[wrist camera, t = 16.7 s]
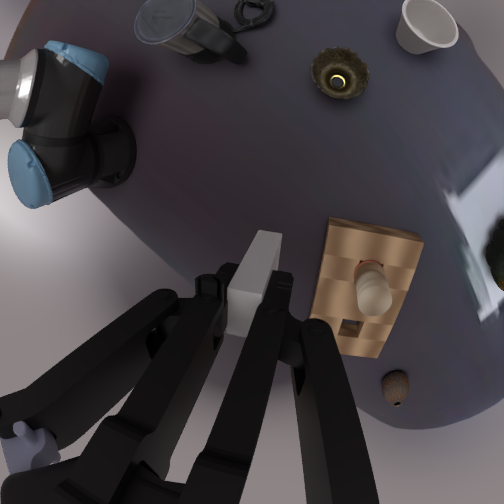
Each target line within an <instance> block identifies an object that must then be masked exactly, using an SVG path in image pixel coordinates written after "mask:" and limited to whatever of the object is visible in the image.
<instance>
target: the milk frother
mask: <svg viewBox="0 0 504 504" xmlns="http://www.w3.org/2000/svg"><path fill="white" fill-rule="evenodd" d="M244 3H246V4H248V5H249V6H251V7H254V6H256V7H264V10H263V12H262V14H260V15H259V16H258V17H256V18H253V19H245V18H244V17H243V16H242V12H241V10H242V6H243V4H244ZM273 9H274V5H273V1H272V0H239V2H237V4H236V6H235V8H234V16H235V18H236V20H237V21H238V22H239V23H241V24H243V25H245V26H241V27H237V28H234V29H233V28H232V26H231V25H230V24H229V23H228V22H226V21H224V20H222V19H220V18H219V17H218V16H216V15H215V14H214V13H213V12H212V11H211V10H209V9H208V8H207V7H206V6H205V5H204V4H202V3H201V2H200V1H199V0H148V1H147V2H146V3H145V4H144V5H143V6H142V7H141V8H140V10H139V12H138V14H137V17H136V19H135V23H134V31H135V34H136V36H137V38H138V39H139V40H140V41H142V42H143V43H146V44H156V45H159V46H161V47H164V48H167V49H169V50H172V51H174V52H177V53H179V54H182V55H184V56H186V57H188V58H190V59H191V60H192V61H194V62H197V63H200V64H209V63H213V62H216V61H218V60H220V59H222V58H223V57H224V58H226V59H227V60H229V61H231V62H232V63H235V64H240V63H241V62H242V61H243V59H244V58H245V57H246V55H247V51H246V50H245V49H244V48H243V47H242V46H241V45H240V44H239V43H238V42H237V41H236V40H235V32H237V31H241V30H244V29H248V28H251V27H254V26H257V25H259V24H261V23H263V22H264V21H266V20H267V19H268V18H269V17H270V16H271V14H272V12H273Z"/></svg>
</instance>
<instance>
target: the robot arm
mask: <svg viewBox="0 0 504 504" xmlns="http://www.w3.org/2000/svg"><path fill="white" fill-rule="evenodd" d="M44 48H45V49H33V50H32V51H30V52H29V53H28V54H27V55H25V56H24V57H23V58H21V59H9V60H0V120H1V119H8V120H10V121H11V123H12V124H13V125H14V126H15V127H16V128H22V127H24V130H23V136H22V140H20V139H19V140H17V141H16V142H14V143H13V144H12V146H11V148H10V150H9V153H8V171H9V177H10V181H11V184H12V187H13V189H14V192H15V194H16V195H17V197H18V199H19V200H20V201H21V203H23V204H24V205H25V206H26V207H28V208H31V209H36V208H39V207H41V206H44V205H49V204H51V203H52V202H55V201H57V200H59V199H61V198H63V197H66V196H68V195H70V194H72V193H75V192H77V191H79V190H82V189H84V188H87V187H94V188H111V187H114V186H116V185H119V184H121V183H122V182H124V181H125V180H126V179H127V178H128V177H129V175H130V174H131V172H132V170H133V167H134V164H135V159H136V143H135V138H134V135H133V133H132V130H131V129H130V127H129V126H128V124H127V123H126V122H125V121H124V120H122V119H121V118H118V117H115V116H107V117H101V118H98V119H96V120H94V121H92V122H91V119H92V116H93V112H94V109H95V106H96V103H97V100H98V97H99V94H100V91H101V89H102V86H104V80H105V77H106V74H107V71H108V68H109V59H108V58H107V57H106V56H105V55H103V54H100V53H97V52H95V51H92V50H88V49H85V48H82V47H78V46H74V45H69V44H66V43H62V42H58V41H53V40H50V41H48V43H47V44H46V45H45V47H44ZM281 240H282V234H281V233H275V232H268V231H262V230H259V231H258V232H257V234H256V236H255V238H254V240H253V242H252V243H251V245H250V247H249V249H248V251H247V253H246V254H245V256H244V258H243V260H242V262H241V264H240V265H239V264H234V263H228V262H227V263H225V264H224V265H222V266H221V267H220V268H219V270H218V272H217V273H216V274H203V275H200V276H198V277H197V278H196V279H195V289H196V295H195V296H194V297H193V298H178V295H177V293H176V292H175V291H173V290H171V289H158V290H156V291H154V292H152V293H151V294H150V295H148V296H147V297H146V298H144V299H143V300H141V301H140V302H139V303H137V304H136V305H135V306H133V307H132V308H130V309H129V310H128V311H126V312H125V313H124V314H122V315H121V316H119V317H118V318H117V319H116V320H114V321H113V322H111V323H110V324H109V325H107V326H106V327H105V328H103V329H102V330H101V331H99V332H98V333H97V334H95V335H94V336H93V337H91V338H90V339H89V340H87V341H86V342H85V343H83V344H82V345H81V346H79V347H78V348H77V349H75V350H74V351H73V352H72V353H70V354H69V355H68V356H66V357H65V358H64V359H62V360H61V361H60V362H59V363H58V364H56V365H55V366H53V367H52V368H51V369H50V370H48V371H47V372H46V373H44V374H43V375H42V376H41V377H39V378H38V379H37V380H36V381H34V382H33V383H32V384H31V385H30V386H28V387H27V388H25V389H22V390H20V391H17V392H14V393H11V394H8V395H6V396H3V397H0V440H1V444H2V448H3V452H4V455H5V459H6V463H7V466H8V469H9V472H10V475H9V476H8V477H7V478H6V479H5V480H4V482H3V484H2V487H1V492H0V494H1V504H239V502H240V499H241V495H242V493H243V489H244V486H245V483H246V479H247V476H248V473H249V469H250V466H251V462H252V459H253V455H254V452H255V448H256V445H257V441H258V437H259V434H260V430H261V426H262V422H263V418H264V414H265V410H266V406H267V402H268V399H269V394H270V390H271V386H272V382H273V377H274V373H275V368H276V365H277V360H280V361H282V362H284V363H286V364H289V365H290V366H291V367H290V368H291V376H292V384H293V391H294V398H295V406H296V414H297V422H298V430H299V438H300V447H301V455H302V464H303V473H304V482H305V490H306V501H307V504H379V499H378V494H377V489H376V485H375V480H374V475H373V471H372V467H371V463H370V459H369V454H368V450H367V446H366V442H365V438H364V435H363V431H362V427H361V423H360V420H359V416H358V412H357V409H356V405H355V402H354V398H353V395H352V391H351V388H350V385H349V381H348V378H347V375H346V371H345V368H344V365H343V362H342V358H341V355H340V352H339V349H338V346H337V343H336V340H335V337H334V334H333V331H332V328H331V326H330V325H329V324H328V323H327V322H326V321H324V320H321V319H318V318H310V319H307V320H305V321H303V322H302V321H299V320H297V319H296V318H294V317H293V316H292V315H291V314H290V312H289V302H290V297H291V291H292V286H293V280H294V278H293V276H292V274H291V273H288V272H283V271H277V270H278V263H279V256H280V248H281ZM226 326H227V329H226V333H228V334H232V335H236V336H241V337H245V338H246V340H245V343H244V346H243V348H242V351H241V354H240V357H239V359H238V362H237V365H236V368H235V370H234V373H233V375H232V378H231V381H230V384H229V386H228V389H227V391H226V394H225V397H224V399H223V402H222V405H221V407H220V410H219V412H218V415H217V418H216V420H215V423H214V425H213V428H212V430H211V433H210V435H209V438H208V440H207V443H206V445H205V448H204V449H203V451H202V452H201V453H199V455H198V457H197V458H196V460H195V462H194V465H193V467H192V470H191V472H190V474H189V477H188V479H187V481H186V484H184V483H176V482H169V481H165V478H166V476H167V473H168V471H169V467H170V459H171V456H172V453H173V451H174V449H175V447H176V445H177V442H178V440H179V438H180V436H181V434H182V431H183V429H184V427H185V425H186V423H187V420H188V418H189V416H190V414H191V412H192V409H193V407H194V405H195V403H196V400H197V398H198V396H199V394H200V392H201V389H202V387H203V385H204V383H205V380H206V378H207V376H208V374H209V371H210V369H211V367H212V365H213V363H214V360H215V358H216V356H217V353H218V351H219V349H220V347H221V344H222V342H223V338H224V330H225V328H226ZM154 328H155V330H153V329H154ZM152 330H153V331H152ZM133 388H134V389H133ZM132 389H133V390H132ZM130 390H132V392H131V394H130V395H129V397H128V398H127V400H126V402H125V403H124V405H123V406H122V408H121V410H120V411H119V412H118V414H116V415H113V416H108V417H106V418H105V419H104V420H103V421H102V422H101V423H100V425H99V426H98V428H97V430H96V431H95V433H94V434H93V436H92V438H91V439H90V441H89V442H88V444H87V446H86V447H85V449H84V451H83V452H82V454H81V455H80V456H78V457H75V458H72V459H68V460H65V461H62V462H59V461H60V458H61V457H60V454H59V452H58V451H59V450H61V449H63V448H66V447H67V446H69V445H71V444H72V443H74V442H75V441H76V440H77V439H79V438H80V437H81V436H82V435H84V434H85V432H87V431H88V430H89V429H90V428H91V427H92V426H93V425H94V424H95V423H96V422H97V421H99V419H101V418H102V417H103V416H104V415H105V414H106V413H107V412H108V411H109V410H110V409H111V408H113V407H114V406H115V405H116V404H117V403H118V402H119V401H120V400H121V399H122V398H123V397H124V396H125V395H126V394H127V393H128V392H129V391H130ZM51 463H55V464H51ZM49 464H51V465H49Z"/></svg>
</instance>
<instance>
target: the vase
mask: <svg viewBox="0 0 504 504" xmlns="http://www.w3.org/2000/svg"><path fill="white" fill-rule="evenodd" d="M408 391H409V381H408V378H407V377H406V375H405V374H404V373H402V372H399V371H394V372H391V373H389V374H388V375H387V376H386V377H385V378H384V380H383V383H382V394H383V396H384V398H385V399H386V400H387V401H388V402H390V403H391V404H392V406H394V407H397V406H400V405H401V404H402V403H403V400H404V399H405V397H406V396H407V394H408Z"/></svg>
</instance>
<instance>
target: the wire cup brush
mask: <svg viewBox="0 0 504 504" xmlns="http://www.w3.org/2000/svg"><path fill="white" fill-rule="evenodd" d="M313 60H314V62H313V64H312V65H311V74H312V79H313V81H314V82H315V83H316V85H317V86H318V87H319V89H320V90H321V91H322V92H324V93H325V94H326V95H328V96H330V97H332V98H336V99H349V98H354V97H357V96H358V95H360V94H361V93H362V92H363V91H364V89H365V88H366V87H367V85H368V80H369V76H370V73H369V71H368V69H367V64H366V63H365V62H364V63H363V62H362V61H361V59H360V58H358V56H357V53H355V52H352V51H351V49H349V48H342V49H340V48H339V47H338V46H336V47H334V48H333V49H331V48H330V49H329V48H326V49H325V50H324V51H320V52H319V54H318V56H317V57H314V59H313ZM336 77H338V78H340V79H341V80H342V81H343V84H342V86H341V87H335V86H334V85H333V83H332V80H333V79H334V78H336Z"/></svg>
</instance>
